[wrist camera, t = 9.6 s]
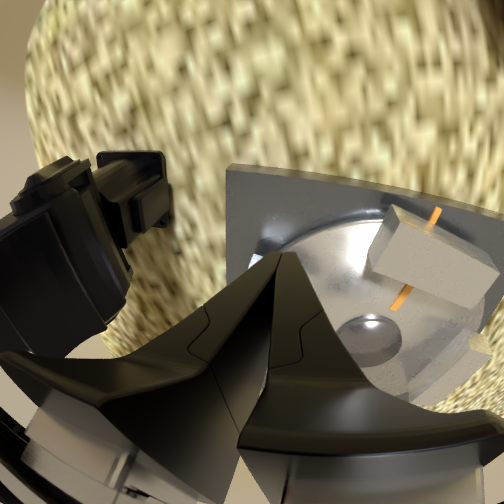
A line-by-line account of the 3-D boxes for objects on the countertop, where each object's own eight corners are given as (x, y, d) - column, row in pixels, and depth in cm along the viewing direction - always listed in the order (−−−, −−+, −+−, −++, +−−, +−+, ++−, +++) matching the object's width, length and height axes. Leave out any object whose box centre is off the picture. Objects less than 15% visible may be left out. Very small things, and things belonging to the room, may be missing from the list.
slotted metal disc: (394, 408, 31) (395, 432, 28) (216, 361, 31) (206, 387, 28) (526, 273, 17) (543, 299, 14) (287, 156, 18) (279, 174, 15)
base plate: (232, 371, 34) (229, 382, 33) (231, 163, 21) (225, 170, 19) (423, 393, 31) (424, 404, 29) (526, 221, 17) (535, 231, 15)
